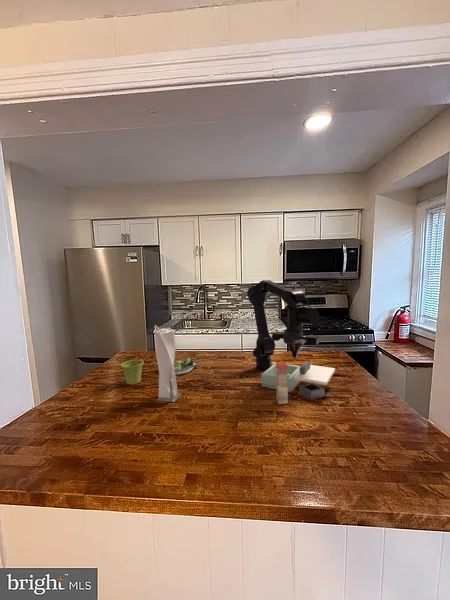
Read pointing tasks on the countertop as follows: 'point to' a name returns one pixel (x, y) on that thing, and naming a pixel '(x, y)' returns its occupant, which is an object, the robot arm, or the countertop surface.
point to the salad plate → (183, 366)
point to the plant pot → (132, 371)
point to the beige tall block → (281, 382)
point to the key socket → (311, 391)
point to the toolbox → (270, 377)
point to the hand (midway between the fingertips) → (295, 358)
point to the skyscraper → (166, 364)
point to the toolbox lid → (314, 373)
